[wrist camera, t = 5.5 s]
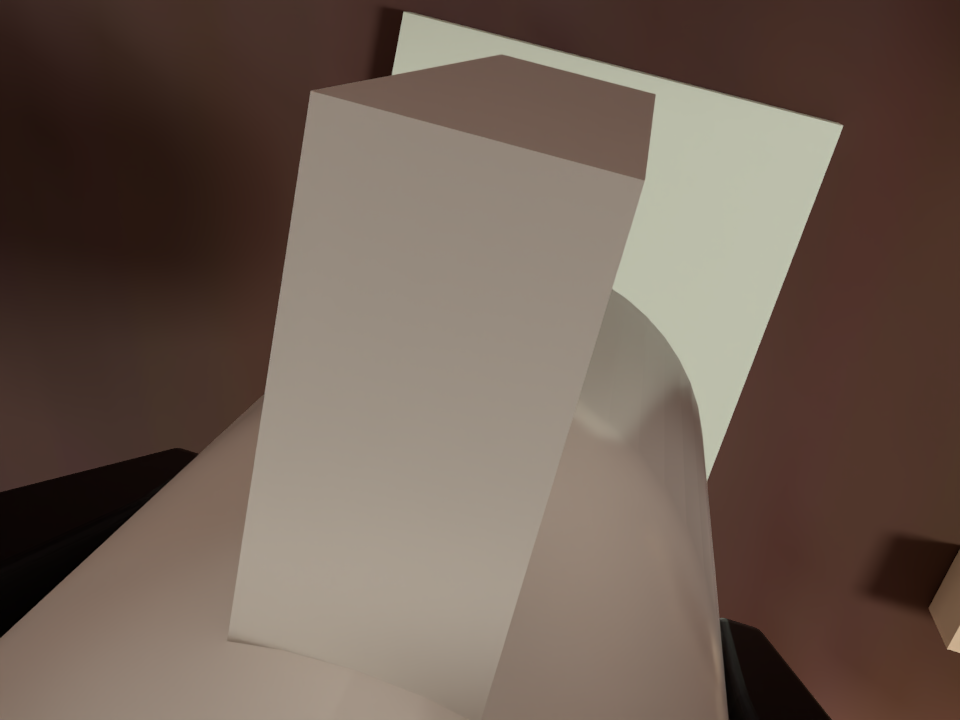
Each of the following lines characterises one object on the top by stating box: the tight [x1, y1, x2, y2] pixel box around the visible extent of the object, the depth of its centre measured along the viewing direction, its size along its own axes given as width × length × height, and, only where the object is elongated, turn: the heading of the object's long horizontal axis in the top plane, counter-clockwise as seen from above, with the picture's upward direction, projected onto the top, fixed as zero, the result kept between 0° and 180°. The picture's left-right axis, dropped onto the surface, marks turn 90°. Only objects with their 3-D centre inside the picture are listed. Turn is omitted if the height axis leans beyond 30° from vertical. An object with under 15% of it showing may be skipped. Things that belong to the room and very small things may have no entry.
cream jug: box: [0, 54, 729, 720], centre depth 7 cm, size 8×5×9 cm
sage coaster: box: [392, 12, 843, 480], centre depth 20 cm, size 9×9×1 cm
